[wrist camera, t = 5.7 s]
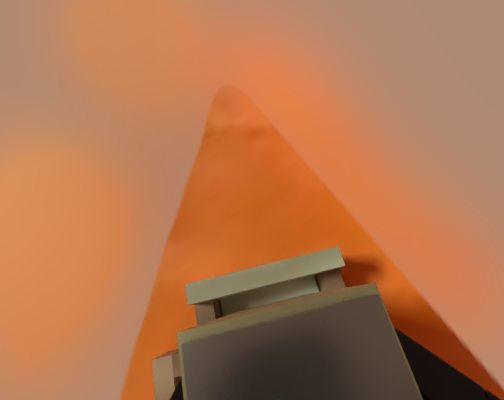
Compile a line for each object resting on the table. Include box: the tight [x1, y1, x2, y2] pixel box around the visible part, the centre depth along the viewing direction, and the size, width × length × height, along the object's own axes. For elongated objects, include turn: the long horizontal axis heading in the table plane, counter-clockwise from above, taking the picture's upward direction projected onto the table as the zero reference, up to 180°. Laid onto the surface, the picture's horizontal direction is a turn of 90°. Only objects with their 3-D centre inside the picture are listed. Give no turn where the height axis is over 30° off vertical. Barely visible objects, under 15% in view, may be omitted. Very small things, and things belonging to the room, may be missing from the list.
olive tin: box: [177, 282, 423, 400], centre depth 9 cm, size 4×4×10 cm
